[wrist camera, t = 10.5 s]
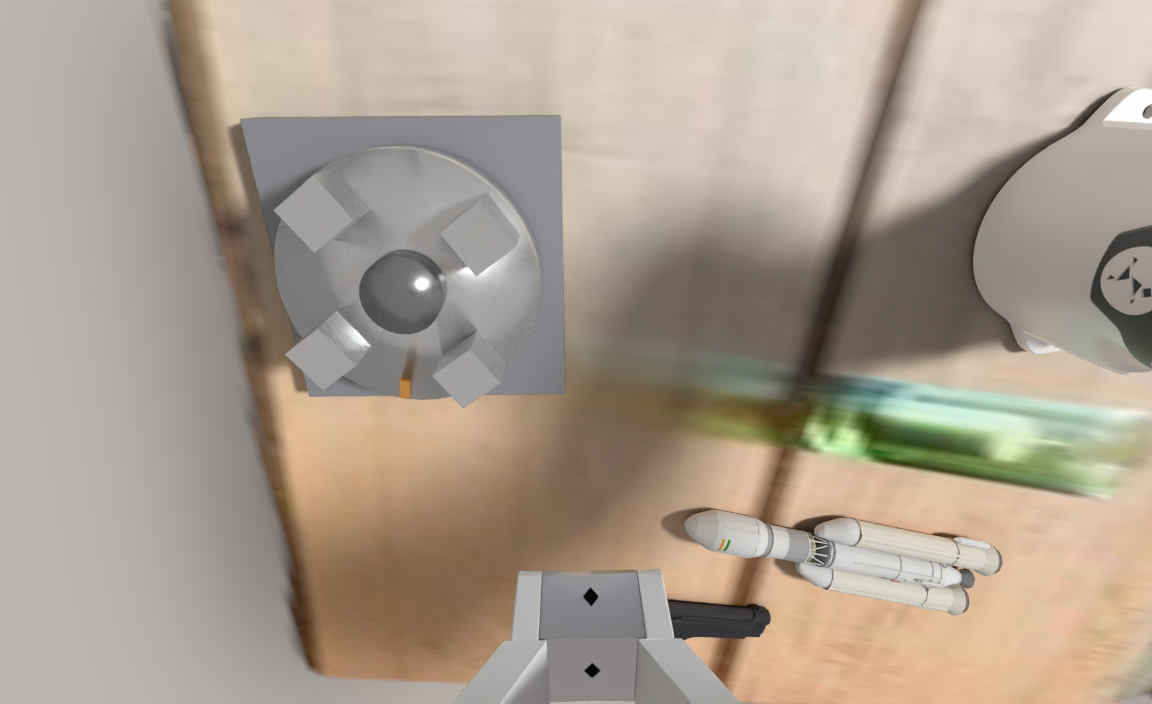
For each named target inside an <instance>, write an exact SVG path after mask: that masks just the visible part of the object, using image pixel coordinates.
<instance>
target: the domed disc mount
mask: <svg viewBox="0 0 1152 704" xmlns="http://www.w3.org/2000/svg"><path fill="white" fill-rule="evenodd" d="M274 211H275V212H276V213H277V214H278V216H279V217H280V218H281V221H280V224H279V227H278V231H277V234H276V241H275V249H274V268H275V275H276V282H277V286H278V290H279V293H280V297H281V300H282V303H283V305H284V307H285V309H286V312H287V314H288V316H289V318H290V320H291V321H292V323H293V325H294V327H295V328H296V330H297V331H298V333H299V334H300V335H301V337H302V339H301V340H300V341H299V342H298V343H297V344H296V345H295V346H293V347H292V348H291V349H290V350H289V351H288V352H287V353H286V354H285V355H286V356H287V357H288V358H289V359H290V360H291V361H292V362H293V363H294V364H295V365H297V366H298V367H299V368H300V369H301V370H302V371H303V372H304V373H305V374H306V375H307V376H308V377H309V378H310V379H311V380H313V381H314V382H315V383H316V384H317V385H318V386H319V387H320V388H321V389H322V390H324V389H326V388H327V387H328V386H330V385H331V384H332V383H334V382H335V381H336V380H338V379H339V378H340V377H342V376H344V377H346V378H348V379H350V380H352V381H353V382H355V383H357V384H359V385H361V386H364V387H366V388H368V389H371V390H373V391H376V392H379V393H383V394H386V395H390V396H395V397H399V398H406V399H419V400H425V399H440V398H447V397H453V398H454V399H455V401H456V402H457V403H458V404H459V405H460V406H461V407H462V408H464V407H466V406H467V405H469V404H470V403H472V402H473V401H475V400H476V399H478V398H479V397H481V396H482V395H484V394H485V393H487V392H488V391H490V390H491V389H493V388H494V387H496V386H497V385H499V384H500V383H501V379H502V375H503V371H504V370H505V369H506V368H507V367H508V366H509V365H510V364H511V363H512V362H513V361H514V360H515V358H516V357H517V355H518V354H519V353H520V351H521V350H522V349H523V347H524V345H525V343H526V341H527V340H528V338H529V336H530V333H531V331H532V328H533V325H534V322H535V319H536V314H537V309H538V304H539V297H540V290H541V262H540V256H539V251H538V246H537V243H536V240H535V237H534V234H533V231H532V229H531V227H530V225H529V223H528V221H527V219H526V217H525V215H524V213H523V211H522V210H521V208H520V207H519V205H518V204H517V202H516V201H515V200H514V198H513V197H512V196H511V195H510V194H509V193H508V191H507V190H506V189H505V188H504V187H503V186H502V185H501V184H500V183H499V182H498V181H497V180H495V179H494V178H493V177H492V176H491V175H490V174H488V173H487V172H486V171H484V170H483V169H481V168H480V167H478V166H477V165H476V164H474V163H472V162H470V161H468V160H466V159H464V158H462V157H460V156H458V155H456V154H453V153H450V152H448V151H445V150H442V149H438V148H434V147H429V146H425V145H415V144H389V145H384V146H379V147H374V148H370V149H367V150H363V151H360V152H357V153H354V154H351V155H348V156H345V157H342V158H339V159H337V160H335V161H334V162H332V163H330V164H328V165H326V166H324V167H323V168H321V169H320V170H319V171H317V172H316V173H315V174H313V175H312V176H311V177H309V178H308V179H307V180H306V182H305V183H304V184H303V185H302V186H300V187H299V188H298V189H297V190H296V191H295V192H294V193H292V194H291V195H290V196H289V197H288V198H287V199H286V200H285V201H283V202H282V203H281V204H280V205H279V206H278V207H277V208H276V209H274Z"/></svg>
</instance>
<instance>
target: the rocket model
mask: <svg viewBox="0 0 1152 704" xmlns="http://www.w3.org/2000/svg"><path fill="white" fill-rule="evenodd" d="M684 528H685V530H686V532H687V533H688V534H689V536H690V537H691V538H692V539H694V540H695V541H696V542H698V543H699V544H701V545H702V546H703V547H705V548H706V549H708V550H711V551H714V552H719V553H724V554H730V555H735V556H740V557H746V558H752V557H758V556H762V557H766V558H767V557H771V558H776V559H781V560H787V561H792V562H795V567H796V570H797V572H798V573H800V574H801V575H802V576H803V577H804V578H806V579H807V580H808V581H809V582H810V583H812V584H814V585H815V586H819V587H822V588H824V589H826V590H831V591H837V592H842V593H848V594H853V595H858V596H864V597H869V598H875V599H880V600H886V601H891V602H897V603H902V604H908V605H911V606H914V607H919V608H925V609H930V610H935V611H938V610H940V611H946V612H948V613H950V614H951V615H959V614H961V613H964V612H966V610H967V609H968V607H969V597H968V594H967V592H966V591H965V589H964V588H971V587H972V586H973V585H974V581H975V577H974V575H973V573H972V572H971V571H970V570H969V569H973V570H974V571H976V572H977V573H979V574H981V575H984V576H990V575H993V574H995V573H997V572H998V571H1000V568H1001V566H1002V557H1001V554H1000V553H999V551H998V550H997V549H996V548H995V547H993V546H992V545H991V544H989V543H988V542H984V541H979V540H974V539H969V538H964V537H956V538H953V539H952V538H949V537H946V538H945V537H940V536H935V535H930V534H925V533H920V532H915V531H910V530H905V529H900V528H895V527H890V526H885V525H880V524H875V523H870V522H866V521H861V520H856V519H854V518H838V519H834V520H830V521H827V522H824V523H820V524H819V525H817V526H816V527H815V529H814V533H809V532H805V531H802V530H795V529H790V528H785V527H780V526H775V525H771V524H769V523H763V522H762V521H760V520H758V519H756V518H755V517H753V516H747V515H742V514H736V513H731V512H726V511H721V510H714V509H712V510H708V511H704V512H700V513H696V514H693V515H692V516H690V517H689V518H688V519H687V520H686V521H685V523H684ZM808 533H809V534H808ZM810 534H812V535H810ZM814 534H815V535H814ZM812 536H813V537H814V538H813V537H812ZM951 566H958V567H963V568H964V569H960V570H958V569H956V568H953V567H951ZM965 568H968V569H965ZM958 584H959V585H961V586H962V587H964V588H962V587H961V586H959V585H958Z"/></svg>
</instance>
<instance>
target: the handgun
mask: <svg viewBox="0 0 1152 704" xmlns="http://www.w3.org/2000/svg"><path fill="white" fill-rule="evenodd" d="M668 607H669V612H670V617H671V622H672V627H673V633H674V638H681V639H683V640H686V639H688V638H691V637H715V638H737V639H744V638H745V637H760V635H761V633H763V631H764V629H765V627H766V625H768V624H769V623H770V613H769V611H768V610H767V609H766V608H765V607H754V606H748V607H734V606H725V605H711V604H698V603H685V602H672V601H668Z"/></svg>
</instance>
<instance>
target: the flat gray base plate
mask: <svg viewBox="0 0 1152 704" xmlns="http://www.w3.org/2000/svg"><path fill="white" fill-rule="evenodd" d="M240 122H241V126H242V130H243V134H244V138H245V142H246V146H247V150H248V154H249V158H250V162H251V166H252V170H253V174H254V178H255V182H256V186H257V190H258V194H259V198H260V202H261V206H262V210H263V214H264V218H265V222H266V226H267V230H268V234H269V238H270V242H271V246H272V250H273V254H274V249H275V241H276V234H277V231H278V227H279V224H280V221H281V218H280V217H279V216H278V214H277V213H276V212H275V211H274V209H276V208H277V207H278V206H279V205H280V204H281V203H282V202H283V201H285V200H286V199H287V198H288V197H289V196H290V195H291V194H292V193H294V192H295V191H296V190H297V189H298V188H299V187H300V186H302V185H303V184H304V183H305V182H306V180H307V179H308V178H309V177H311V176H312V175H313V174H315V173H316V172H317V171H319V170H320V169H321V168H323V167H324V166H326V165H328V164H330V163H332V162H334V161H335V160H337V159H339V158H342V157H345V156H348V155H351V154H354V153H357V152H360V151H363V150H367V149H370V148H374V147H379V146H384V145H389V144H415V145H425V146H429V147H434V148H438V149H442V150H445V151H448V152H450V153H453V154H456V155H458V156H460V157H462V158H464V159H466V160H468V161H470V162H472V163H474V164H476V165H477V166H478V167H480V168H481V169H483V170H484V171H486V172H487V173H488V174H490V175H491V176H492V177H493V178H494V179H495V180H497V181H498V182H499V183H500V184H501V185H502V186H503V187H504V188H505V189H506V190H507V191H508V193H509V194H510V195H511V196H512V197H513V198H514V200H515V201H516V202H517V204H518V205H519V207H520V208H521V210H522V211H523V213H524V215H525V217H526V219H527V221H528V223H529V225H530V227H531V229H532V231H533V234H534V237H535V240H536V243H537V246H538V251H539V256H540V262H541V290H540V297H539V304H538V309H537V314H536V319H535V322H534V325H533V328H532V331H531V333H530V336H529V338H528V340H527V341H526V343H525V345H524V347H523V349H522V350H521V351H520V353H519V354H518V355H517V357H516V358H515V360H514V361H513V362H512V363H511V364H510V365H509V366H508V367H507V368H506V369H505V370H504V371H503V375H502V379H501V383H500V384H499V385H497V386H496V387H494V388H493V389H491V390H490V391H488V392H487V393H485V394H484V395H520V394H565V340H564V281H563V222H562V164H561V115H520V116H385V117H256V118H245V119H240ZM290 322H291V326H292V330H293V334H294V338H295V342H296V344H297V343H298V342H299V341H300V340H301V339H302V337H301V335H300V334H299V333H298V331H297V330H296V328H295V327H294V325H293V323H292V321H291V320H290ZM303 374H304V378H305V382H306V386H307V390H308V394H309V397H319V396H390V395H386V394H383V393H379V392H376V391H373V390H371V389H368V388H366V387H364V386H361V385H359V384H357V383H355V382H353V381H352V380H350V379H348V378H346V377H344V376H342V377H340V378H339V379H338V380H336V381H335V382H334V383H332V384H331V385H330V386H328V387H327V388H326V389H324V390H322V389H321V388H320V387H319V386H318V385H317V384H316V383H315V382H314V381H313V380H311V379H310V378H309V377H308V376H307V375H306V374H305V373H304V372H303Z"/></svg>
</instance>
